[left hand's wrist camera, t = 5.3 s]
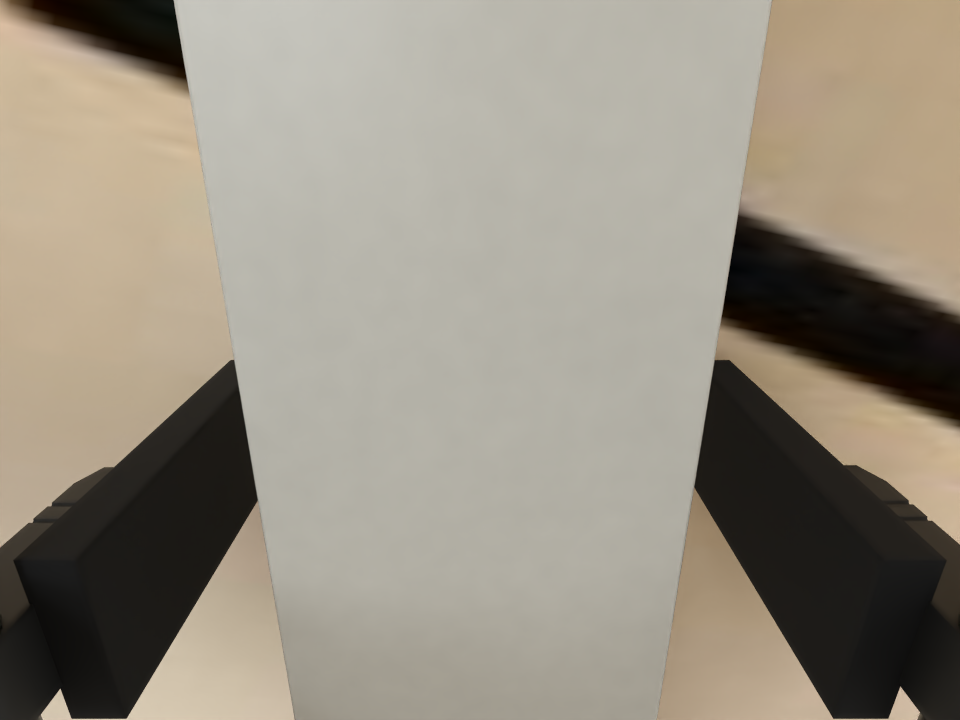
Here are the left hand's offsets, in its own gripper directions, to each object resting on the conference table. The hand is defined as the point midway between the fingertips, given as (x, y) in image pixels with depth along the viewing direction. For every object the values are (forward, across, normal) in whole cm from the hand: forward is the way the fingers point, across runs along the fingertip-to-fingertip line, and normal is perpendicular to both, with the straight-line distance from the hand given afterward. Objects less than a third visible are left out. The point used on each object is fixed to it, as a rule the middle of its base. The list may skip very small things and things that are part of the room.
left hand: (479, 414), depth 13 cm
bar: (+1, 0, -23) cm, 23 cm away
